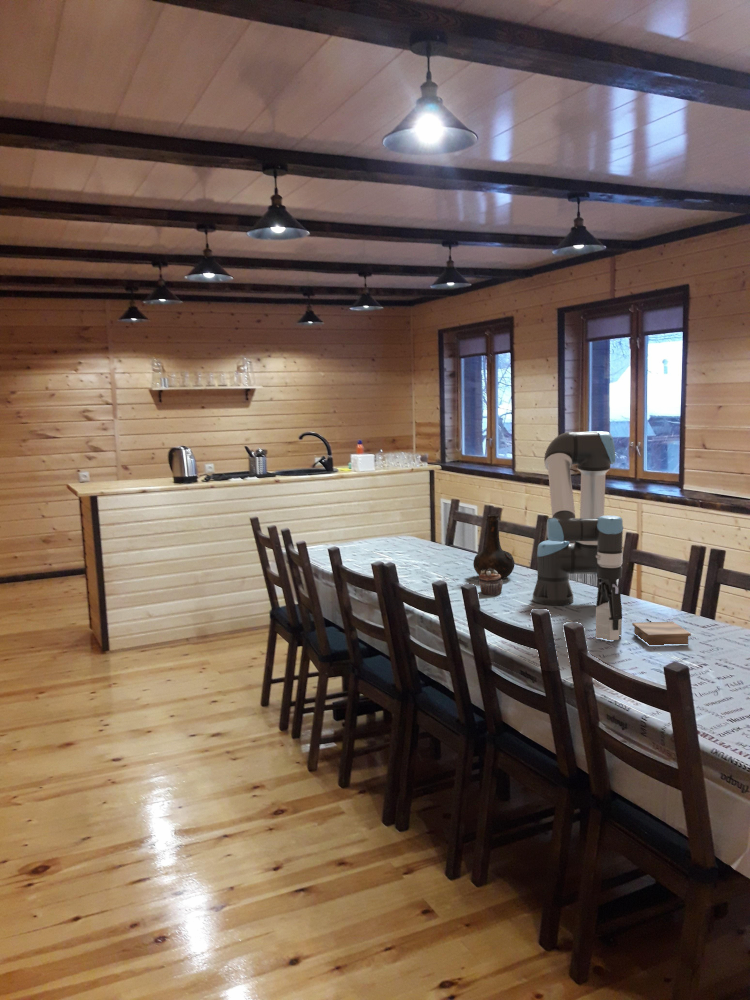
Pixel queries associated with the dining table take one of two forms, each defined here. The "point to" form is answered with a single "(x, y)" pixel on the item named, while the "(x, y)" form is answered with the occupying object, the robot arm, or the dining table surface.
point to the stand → (661, 633)
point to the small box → (604, 621)
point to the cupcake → (490, 582)
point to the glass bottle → (494, 552)
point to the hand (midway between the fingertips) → (608, 634)
